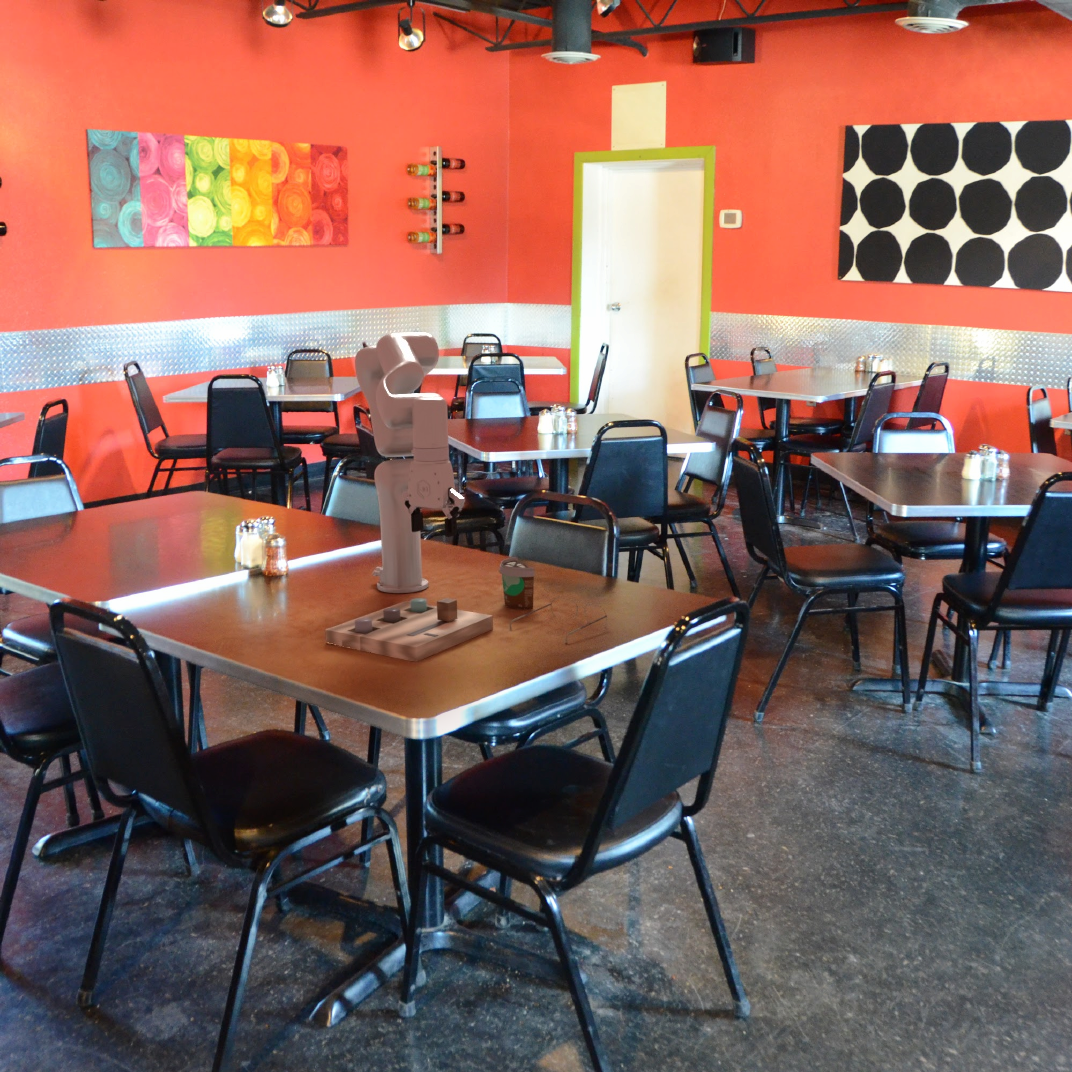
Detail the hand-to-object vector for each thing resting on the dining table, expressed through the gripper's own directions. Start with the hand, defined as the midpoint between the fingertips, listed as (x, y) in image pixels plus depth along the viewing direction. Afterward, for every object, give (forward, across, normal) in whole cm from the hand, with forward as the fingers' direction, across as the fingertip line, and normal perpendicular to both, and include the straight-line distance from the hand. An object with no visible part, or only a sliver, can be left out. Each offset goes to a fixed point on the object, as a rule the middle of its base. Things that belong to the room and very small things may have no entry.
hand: (434, 533), depth 252 cm
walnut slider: (+17, +8, -6) cm, 20 cm away
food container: (+20, +6, +20) cm, 29 cm away
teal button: (+18, -3, -3) cm, 18 cm away
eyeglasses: (+21, +25, +11) cm, 34 cm away
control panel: (+20, +3, -11) cm, 23 cm away
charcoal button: (+18, -2, -12) cm, 21 cm away
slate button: (+18, -2, -21) cm, 27 cm away
